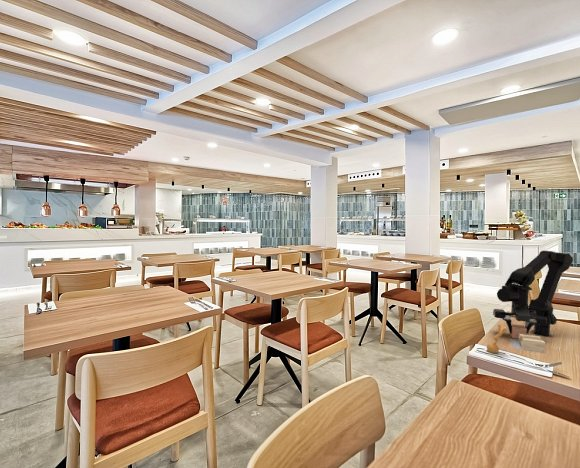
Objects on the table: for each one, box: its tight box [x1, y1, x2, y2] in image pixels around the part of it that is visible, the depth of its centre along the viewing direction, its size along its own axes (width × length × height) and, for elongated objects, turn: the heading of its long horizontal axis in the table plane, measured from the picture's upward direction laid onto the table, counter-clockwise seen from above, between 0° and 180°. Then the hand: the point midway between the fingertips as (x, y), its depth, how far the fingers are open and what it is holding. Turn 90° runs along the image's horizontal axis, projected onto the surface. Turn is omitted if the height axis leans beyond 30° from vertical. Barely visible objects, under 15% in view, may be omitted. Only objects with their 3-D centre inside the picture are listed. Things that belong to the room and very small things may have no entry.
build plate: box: [508, 337, 547, 354], centre depth 131 cm, size 12×10×1 cm
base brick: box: [518, 334, 546, 353], centre depth 129 cm, size 7×7×4 cm
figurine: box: [486, 323, 507, 354], centre depth 123 cm, size 8×6×12 cm
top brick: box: [509, 323, 528, 340], centre depth 140 cm, size 5×5×5 cm
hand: (517, 335), depth 140 cm, fingers closed on top brick, 5 cm apart
